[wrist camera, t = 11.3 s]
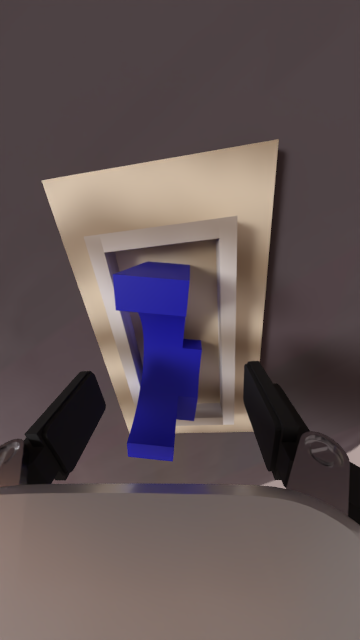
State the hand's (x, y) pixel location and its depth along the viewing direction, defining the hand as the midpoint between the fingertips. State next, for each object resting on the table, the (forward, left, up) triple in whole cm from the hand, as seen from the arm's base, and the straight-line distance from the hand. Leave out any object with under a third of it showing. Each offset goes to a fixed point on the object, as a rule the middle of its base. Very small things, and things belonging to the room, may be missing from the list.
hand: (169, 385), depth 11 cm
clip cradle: (0, 0, -5) cm, 5 cm away
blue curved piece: (+1, 0, -5) cm, 5 cm away
